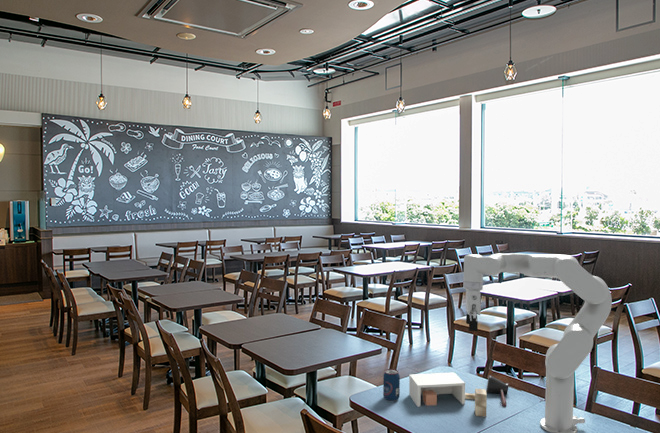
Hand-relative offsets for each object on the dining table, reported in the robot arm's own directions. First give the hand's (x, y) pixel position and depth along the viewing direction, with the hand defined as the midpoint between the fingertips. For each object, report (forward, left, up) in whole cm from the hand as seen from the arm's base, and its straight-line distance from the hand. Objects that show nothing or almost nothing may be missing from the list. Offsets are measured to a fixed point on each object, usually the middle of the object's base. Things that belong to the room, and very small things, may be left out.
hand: (471, 327), depth 194 cm
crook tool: (-4, -3, -34) cm, 35 cm away
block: (+14, -9, -34) cm, 38 cm away
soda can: (+29, -15, -35) cm, 48 cm away
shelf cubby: (+10, -12, -34) cm, 38 cm away
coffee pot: (-17, -11, -35) cm, 40 cm away
